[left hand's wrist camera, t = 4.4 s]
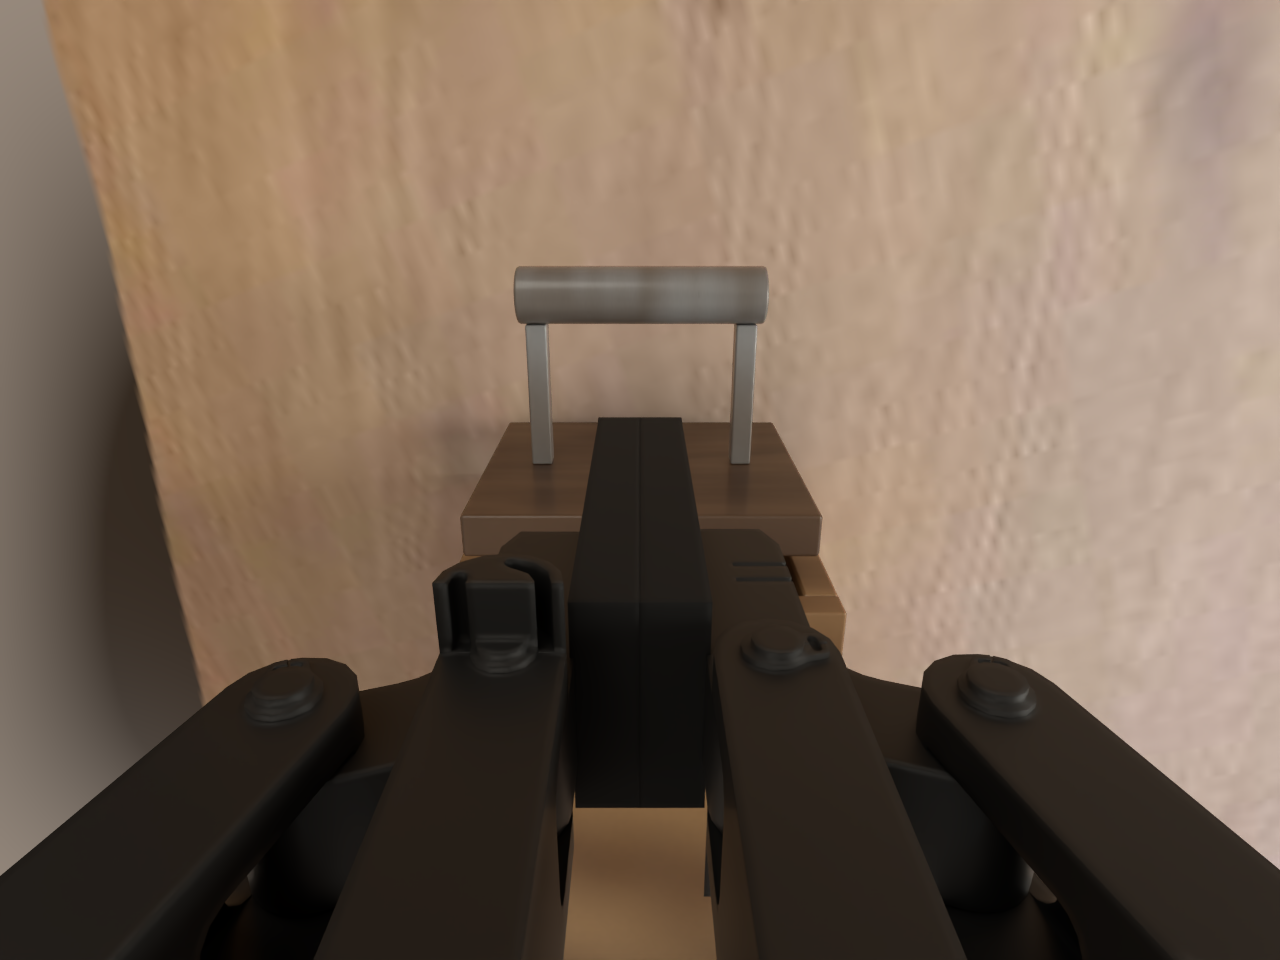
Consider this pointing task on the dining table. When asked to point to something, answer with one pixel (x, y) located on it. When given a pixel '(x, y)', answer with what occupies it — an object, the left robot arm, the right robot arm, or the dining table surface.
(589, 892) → the cabinet
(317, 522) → the dining table surface
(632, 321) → the drawer
